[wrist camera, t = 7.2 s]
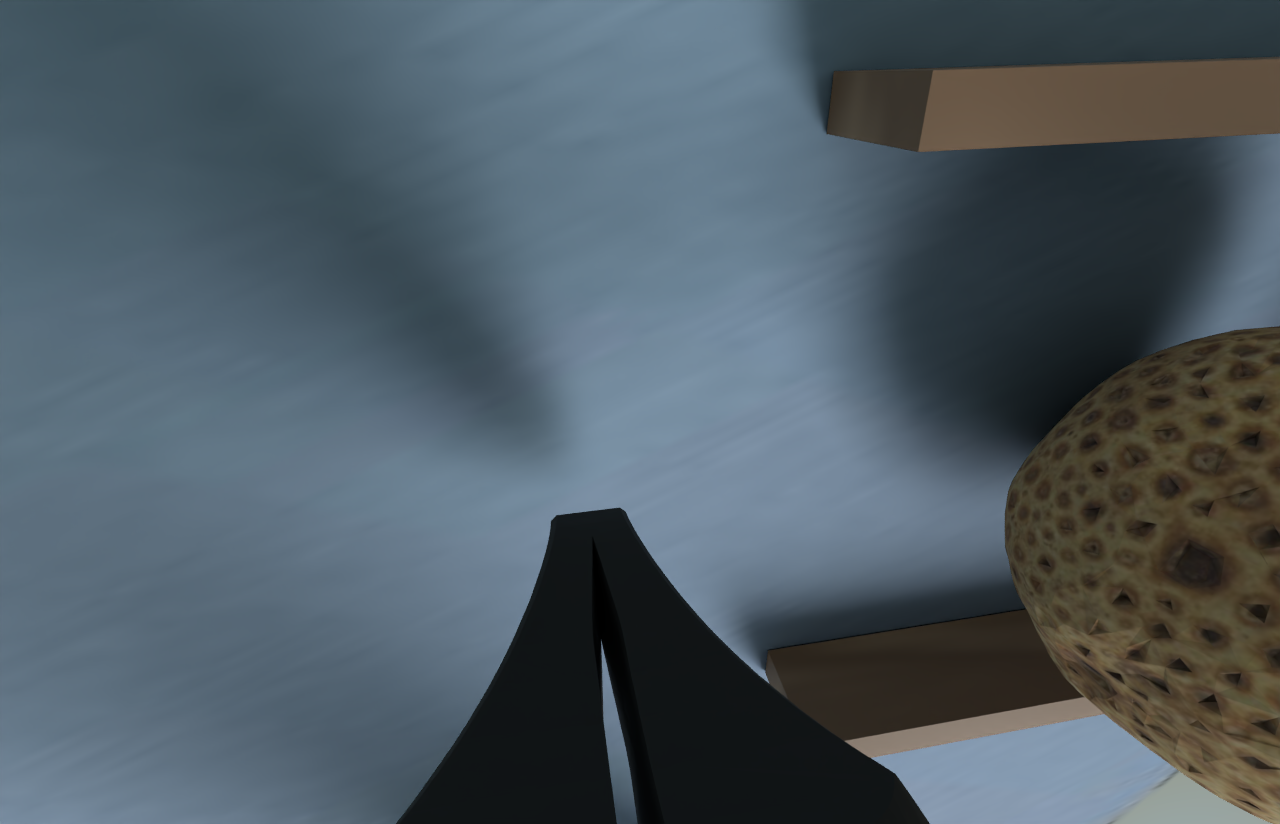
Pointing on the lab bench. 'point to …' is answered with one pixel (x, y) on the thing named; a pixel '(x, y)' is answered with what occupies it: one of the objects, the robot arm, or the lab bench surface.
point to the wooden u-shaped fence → (977, 119)
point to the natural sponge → (1167, 557)
